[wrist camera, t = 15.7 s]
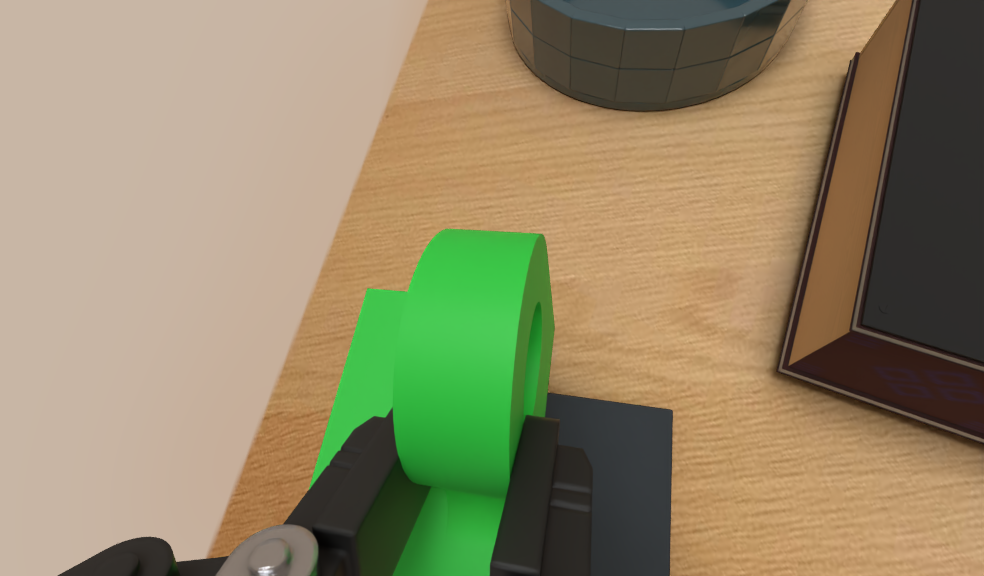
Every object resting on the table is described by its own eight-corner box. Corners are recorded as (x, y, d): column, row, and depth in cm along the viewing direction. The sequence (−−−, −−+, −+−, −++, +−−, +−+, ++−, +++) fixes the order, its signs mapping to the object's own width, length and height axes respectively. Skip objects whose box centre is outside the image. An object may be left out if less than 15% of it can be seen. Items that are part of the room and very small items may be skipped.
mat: (333, 632, 18) (327, 635, 17) (395, 373, 22) (392, 371, 21) (664, 715, 16) (666, 722, 15) (670, 411, 19) (672, 409, 19)
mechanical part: (388, 311, 17) (257, 168, 10) (554, 327, 16) (539, 176, 9) (276, 735, 12) (-133, 1043, 5) (501, 806, 11) (372, 1334, 4)
